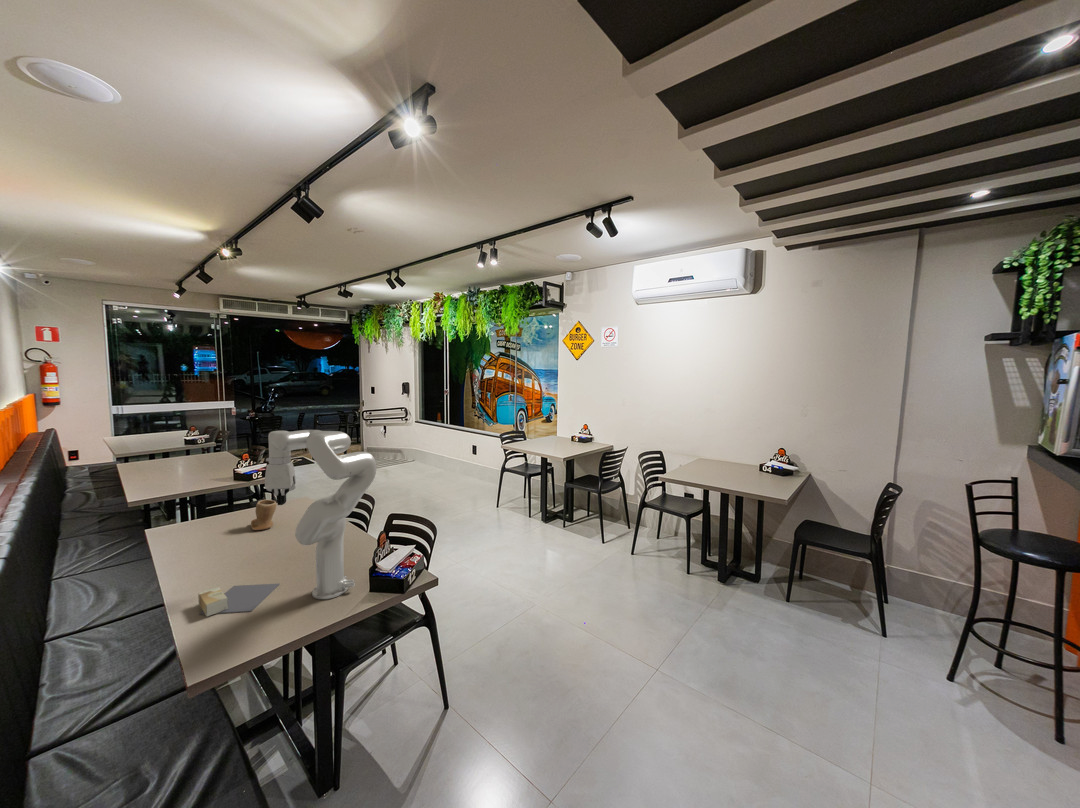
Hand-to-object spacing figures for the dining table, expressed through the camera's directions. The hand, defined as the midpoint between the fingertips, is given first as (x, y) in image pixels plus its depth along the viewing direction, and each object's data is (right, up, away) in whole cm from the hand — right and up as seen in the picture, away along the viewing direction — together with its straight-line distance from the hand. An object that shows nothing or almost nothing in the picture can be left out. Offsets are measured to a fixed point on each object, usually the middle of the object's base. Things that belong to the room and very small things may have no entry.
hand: (281, 504), depth 164 cm
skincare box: (-16, -30, -17) cm, 38 cm away
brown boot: (-47, -28, +57) cm, 79 cm away
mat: (-5, -32, -15) cm, 36 cm away
